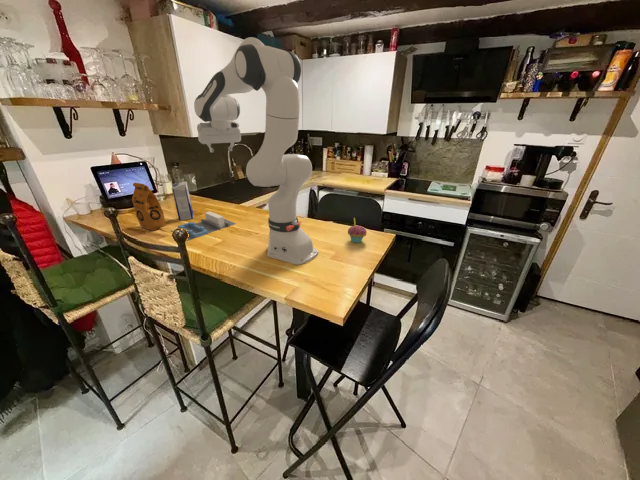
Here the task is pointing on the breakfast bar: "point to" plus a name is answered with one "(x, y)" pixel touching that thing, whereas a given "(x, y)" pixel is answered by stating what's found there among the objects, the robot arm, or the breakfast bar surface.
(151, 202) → the coffee package
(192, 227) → the duct board
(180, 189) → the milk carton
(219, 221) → the light grey block
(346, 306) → the breakfast bar surface
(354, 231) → the cupcake
